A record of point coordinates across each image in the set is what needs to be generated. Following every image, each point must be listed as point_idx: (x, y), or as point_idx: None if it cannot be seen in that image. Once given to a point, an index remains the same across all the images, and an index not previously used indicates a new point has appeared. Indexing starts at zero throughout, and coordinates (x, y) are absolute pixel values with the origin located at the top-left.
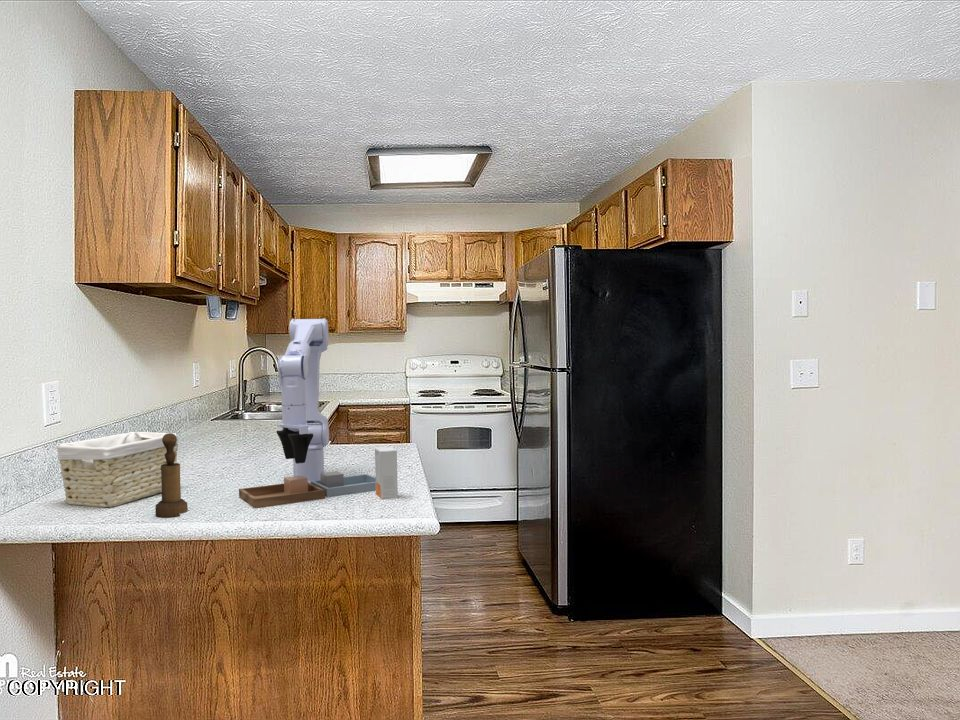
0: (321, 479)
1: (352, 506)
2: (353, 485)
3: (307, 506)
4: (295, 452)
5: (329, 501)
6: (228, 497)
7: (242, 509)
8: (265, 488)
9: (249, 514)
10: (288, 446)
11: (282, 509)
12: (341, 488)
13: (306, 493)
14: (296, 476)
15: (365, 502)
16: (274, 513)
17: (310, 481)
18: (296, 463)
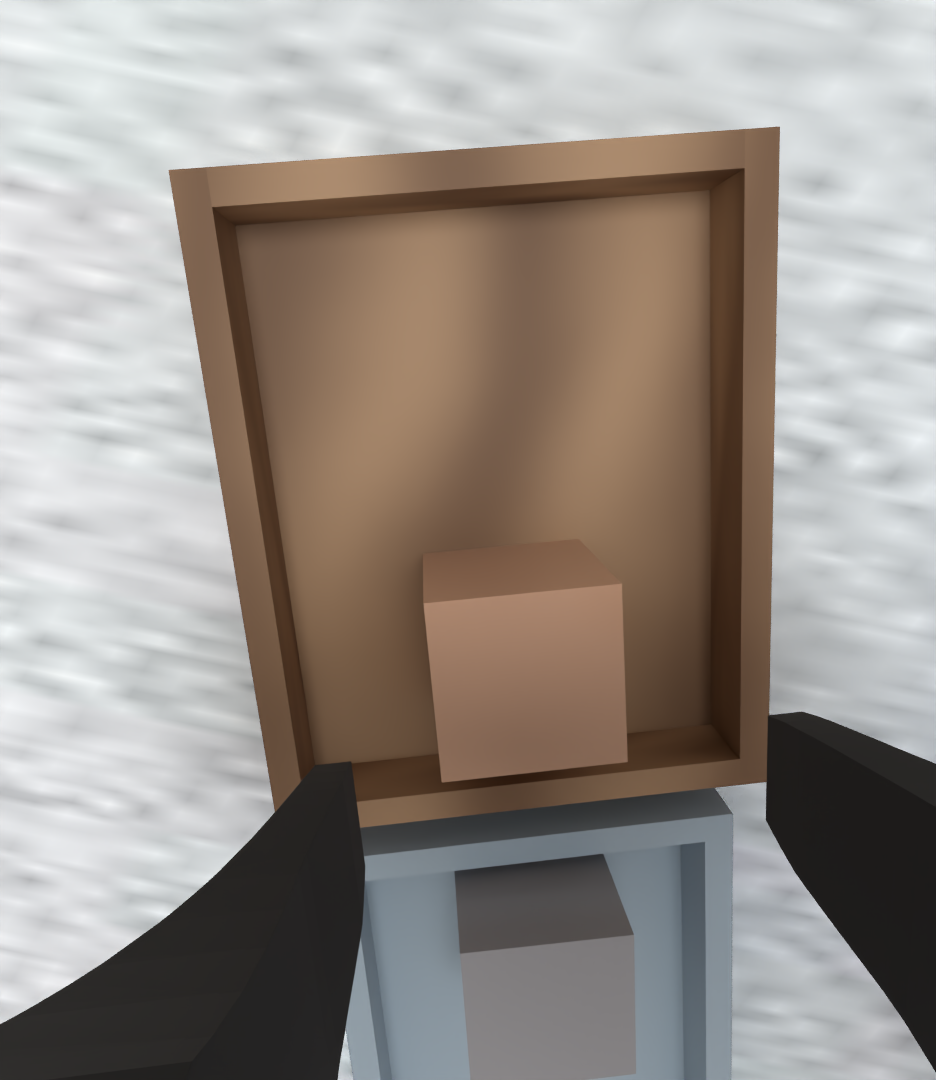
0: (592, 896)
1: (8, 906)
2: (350, 1058)
3: (158, 628)
4: (230, 860)
5: (253, 806)
6: (876, 81)
7: (305, 102)
8: (733, 406)
9: (73, 121)
10: (895, 868)
11: (141, 428)
12: None
13: (255, 680)
14: (603, 708)
15: None
16: (18, 335)
17: (729, 811)
18: (321, 764)
